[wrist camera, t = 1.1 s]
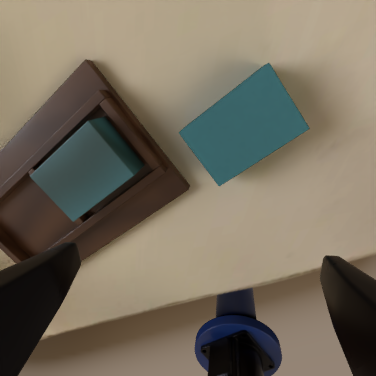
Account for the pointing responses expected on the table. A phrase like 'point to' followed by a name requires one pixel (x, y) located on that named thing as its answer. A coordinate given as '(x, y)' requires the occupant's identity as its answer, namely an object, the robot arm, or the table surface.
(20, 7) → the table surface
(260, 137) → the pad
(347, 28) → the table surface
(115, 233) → the brown two-compartment tray
